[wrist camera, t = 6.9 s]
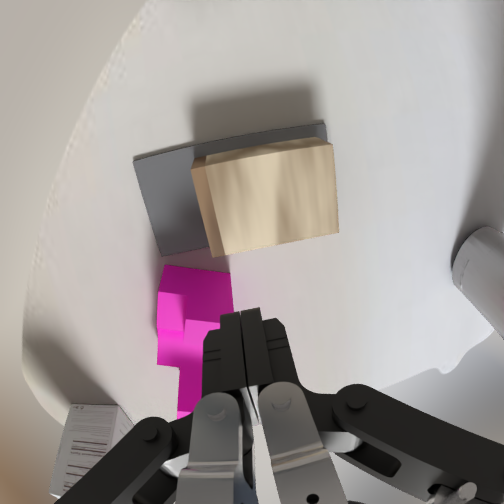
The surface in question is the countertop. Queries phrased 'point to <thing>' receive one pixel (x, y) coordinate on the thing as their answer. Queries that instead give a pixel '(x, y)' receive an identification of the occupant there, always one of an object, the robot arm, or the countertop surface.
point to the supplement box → (86, 442)
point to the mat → (183, 190)
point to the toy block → (189, 324)
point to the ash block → (267, 194)
